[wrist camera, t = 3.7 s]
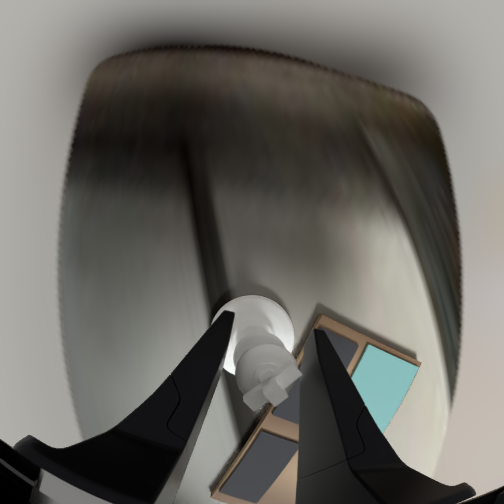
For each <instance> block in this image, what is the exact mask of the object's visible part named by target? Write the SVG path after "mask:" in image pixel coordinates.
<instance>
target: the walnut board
mask: <svg viewBox="0 0 504 504" xmlns="http://www.w3.org/2000/svg"><path fill="white" fill-rule="evenodd" d="M320 327H322V328H324V329H326V330H328V331H330V332H332V333H334V334H336V335H338V336H340V337H342V338H345V339H347V340H349V341H351V342H353V343H355V344H357V345H359V347H358V349H357V351H356V353H355V355H354V357H353V359H352V361H351V363H350V364H349V366H348V368H347V371H348V373H349V375H350V377H351V375H352V373H353V372H354V370H355V368H356V366H357V364H358V362H359V360H360V358H361V356H362V354H363V352H364V350H365V348H366V346H367V344H369V345H371V346H373V347H375V348H377V349H380V350H382V351H384V352H386V353H388V354H390V355H393V356H395V357H397V358H399V359H401V360H403V361H406V362H408V363H410V364H412V365H414V366H417V367H420V365H421V363H422V362H419V361H417V360H415V359H413V358H411V357H409V356H407V355H405V354H402V353H400V352H398V351H396V350H394V349H392V348H390V347H388V346H386V345H384V344H381V343H379V342H377V341H375V340H373V339H371V338H369V337H367V336H365V335H363V334H361V333H359V332H357V331H355V330H353V329H351V328H349V327H347V326H344V325H342V324H340V323H338V322H336V321H334V320H332V319H330V318H328V317H326V316H324V315H322V314H319V316H318V318H317V320H316V322H315V324H314V326H313V328H312V329H314V328H317V329H319V328H320ZM311 331H312V330H311ZM307 338H308V337H307ZM304 345H305V343H304ZM304 345H303V347H302V349H301V351H300V353H299V355H298V356H297V358H296V362H297V365H298V367H299V366H300V364H301V362H302V360H303V352H304ZM417 372H418V371H417ZM416 374H417V373H416ZM415 376H416V375H415ZM414 378H415V377H414ZM413 380H414V379H413ZM412 382H413V381H412ZM411 384H412V383H411ZM410 386H411V385H410ZM409 388H410V387H409ZM408 390H409V389H408ZM407 392H408V391H407ZM403 399H404V398H403ZM402 401H403V400H402ZM401 403H402V402H401ZM400 405H401V404H400ZM274 409H275V406H274V405H273V404H272V403H271V404H270V406H269V407H268V409H267V411H266V412H265V414H264V415H263V417H262V419H261V420H260V422H259V424H258V425H257V427H256V428H255V430H254V431H253V433H252V435H251V436H250V438H249V439H248V441H247V442H246V444H245V445H244V447H243V448H242V450H241V451H240V453H239V454H238V456H237V457H236V459H235V460H234V462H233V463H232V464H231V466H230V467H229V469H228V470H227V472H226V473H225V474H224V476H223V477H222V479H221V480H220V481H219V483H218V484H217V486H216V487H215V488H214V490H213V491H212V492H211V498H213V499H216V500H219V501H222V502H225V503H228V504H256V503H252V502H249V501H245V500H242V499H238V498H235V497H232V496H229V495H226V494H223V493H220V492H219V490H220V489H221V488H222V486H223V485H224V484H225V482H226V481H227V480H228V478H229V477H230V475H231V474H232V473H233V471H234V470H235V468H236V467H237V466H238V464H239V463H240V461H241V460H242V458H243V457H244V456H245V454H246V453H247V451H248V450H249V448H250V447H251V445H252V444H253V442H254V441H255V439H256V438H257V436H258V434H259V433H260V431H261V430H263V431H266V432H268V433H271V434H274V435H277V436H280V437H282V438H285V439H288V440H291V441H294V442H299V425H298V424H295V423H293V422H290V421H287V420H284V419H282V418H279V417H276V416H274V415H272V412H273V411H274ZM397 410H398V409H397ZM396 412H397V411H396ZM393 417H394V416H393ZM392 419H393V418H392ZM390 422H391V421H390ZM389 424H390V423H389ZM387 427H388V426H387ZM384 432H385V431H384ZM297 467H298V450H297V452H296V453H295V455H294V456H293V458H292V459H291V460H290V462H289V463H288V464H287V466H286V467H285V468H284V470H283V471H282V472H281V474H280V475H279V476H278V478H277V479H276V480H275V482H274V483H273V484H272V485H271V487H270V488H269V489H268V490H267V492H266V493H265V494H264V495H263V496H262V498H261V499H260V500H259V501H258V502H257V504H295V499H296V484H297Z"/></svg>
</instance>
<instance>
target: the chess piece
mask: <svg viewBox="0 0 504 504" xmlns="http://www.w3.org/2000/svg"><path fill="white" fill-rule="evenodd" d="M224 310H228V311H232V312H235V318H234V323H233V328H232V333H231V338H230V342H229V346H228V350H227V354H226V358H225V362H224V366H223V368H224V369H226V370H227V371H228V372H230V373H232V374H234V375H235V379H236V383H237V385H238V387H239V389H240V390H241V392H242V393H243V394H244V396H243V400H244V402H245V403H246V404H247V405H248V406H249V407H250V408H251V409H252V410H253V411H256V410H257V409H258V408H260V407H261V406H263V405H264V404H265V403H267V402H271V403H272V404H273V405H274V406H275V407H276V406H277V405H278V404H280V403H281V402H282V401H284V400H285V399H286V398H288V397H289V396H288V395H287V394H289V393H290V392H291V390H292V389H293V388H294V386H295V384H296V382H297V379H298V378H299V377H300V376H301V375H302V373H301V372H300V371H299V370H298V365H297V362H296V360H295V358H294V356H293V355H292V354H291V352H292V349H293V346H294V329H293V325H292V322H291V320H290V318H289V316H288V314H287V313H286V311H285V310H284V309H283V308H282V307H281V306H280V305H279V304H277V303H276V302H275V301H273V300H271V299H269V298H266V297H263V296H257V295H247V296H241V297H238V298H235V299H233V300H231V301H229V302H228V303H226V304H225V305H224V306H223V307H222V308H221V309H220V310H219V311H218V312H217V314H216V315H215V317H214V319H213V321H212V324H213V322H214V321H215V320H216V319H217V318H218V316H219V315H220V314H221V313H222V312H223V311H224ZM212 324H211V325H212Z"/></svg>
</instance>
